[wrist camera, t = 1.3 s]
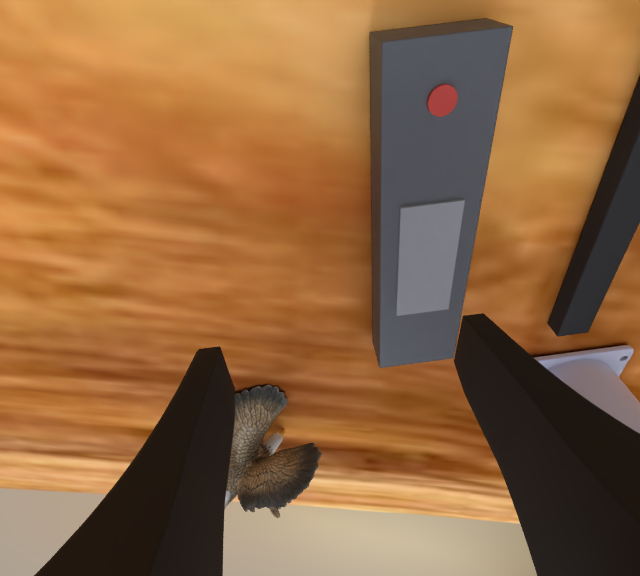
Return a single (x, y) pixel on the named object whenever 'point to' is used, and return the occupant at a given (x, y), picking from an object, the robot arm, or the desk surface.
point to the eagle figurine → (265, 455)
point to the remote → (428, 177)
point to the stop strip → (603, 232)
